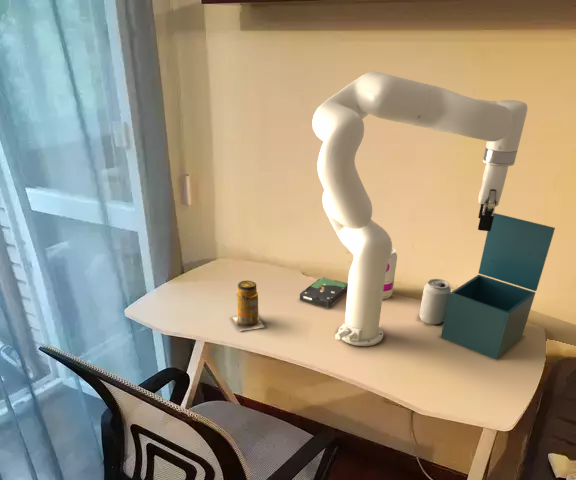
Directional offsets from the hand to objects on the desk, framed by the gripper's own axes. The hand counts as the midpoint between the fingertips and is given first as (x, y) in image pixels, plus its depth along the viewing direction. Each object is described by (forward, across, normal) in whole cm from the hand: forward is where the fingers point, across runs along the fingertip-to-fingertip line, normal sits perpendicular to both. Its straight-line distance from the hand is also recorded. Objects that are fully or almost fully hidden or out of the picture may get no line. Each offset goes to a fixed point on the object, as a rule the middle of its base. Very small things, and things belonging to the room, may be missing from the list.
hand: (484, 224), depth 145 cm
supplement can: (+29, -9, -26) cm, 40 cm away
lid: (+6, +2, +9) cm, 11 cm away
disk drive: (+29, -2, -43) cm, 52 cm away
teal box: (+29, +9, +6) cm, 31 cm away
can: (+29, +3, -9) cm, 31 cm away
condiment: (+29, +21, -60) cm, 70 cm away
